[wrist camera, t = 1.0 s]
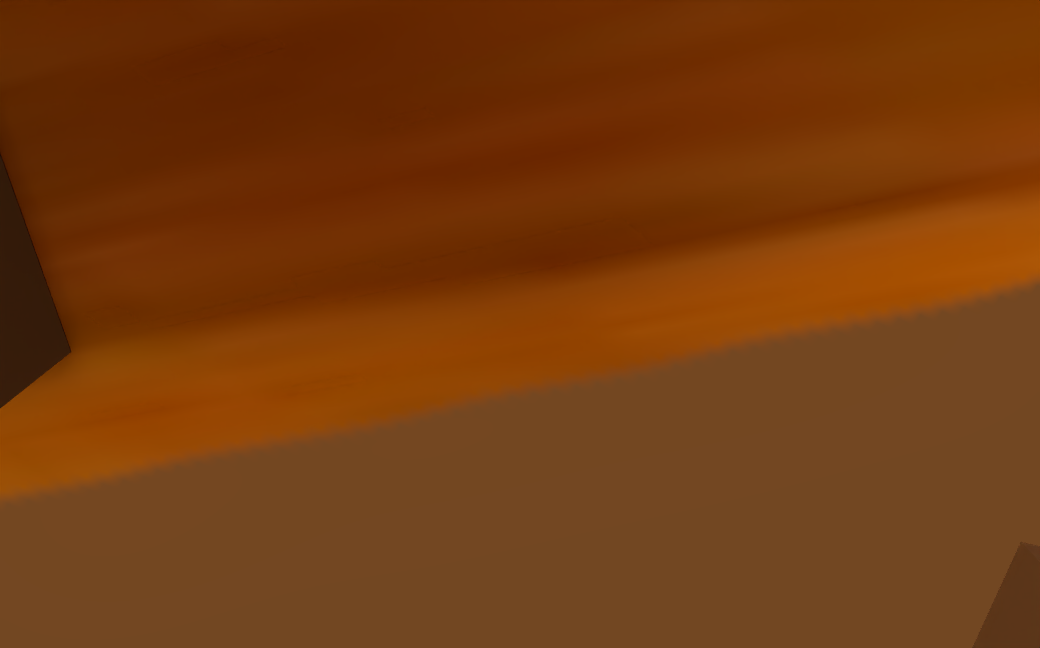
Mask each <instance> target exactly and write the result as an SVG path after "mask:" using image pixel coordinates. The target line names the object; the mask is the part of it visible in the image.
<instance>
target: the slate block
mask: <svg viewBox="0 0 1040 648" xmlns="http://www.w3.org/2000/svg"><path fill="white" fill-rule="evenodd" d="M70 352H71V351H70V348H69V345H68V342H67V339H66V337H65V334H64V331H63V328H62V326H61V323H60V320H59V317H58V314H57V312H56V309H55V306H54V303H53V300H52V298H51V295H50V292H49V289H48V286H47V284H46V281H45V278H44V275H43V272H42V270H41V267H40V264H39V261H38V259H37V256H36V253H35V250H34V247H33V245H32V242H31V239H30V236H29V233H28V231H27V228H26V225H25V222H24V219H23V217H22V214H21V211H20V208H19V205H18V203H17V200H16V197H15V194H14V191H13V189H12V186H11V183H10V180H9V178H8V175H7V172H6V169H5V166H4V164H3V161H2V158H1V155H0V408H1V407H3V406H4V405H5V404H6V403H8V402H9V401H10V400H11V399H13V398H14V397H15V396H16V395H18V394H19V393H20V392H21V391H23V390H24V389H25V388H26V387H28V386H29V385H30V384H31V383H33V382H34V381H35V380H36V379H38V378H39V377H40V376H41V375H43V374H44V373H45V372H46V371H48V370H49V369H50V368H51V367H53V366H54V365H55V364H56V363H58V362H59V361H60V360H62V359H63V358H64V357H65V356H67V355H68V354H69V353H70Z"/></svg>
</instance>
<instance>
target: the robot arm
mask: <svg viewBox="0 0 1040 648" xmlns="http://www.w3.org/2000/svg"><path fill="white" fill-rule="evenodd" d="M973 648H1040V546H1037V545H1032V544H1027V543H1023V542H1021V543H1020V545H1019V547H1018V549H1017V552H1016V554H1015V556H1014V558H1013V561H1012V563H1011V565H1010V567H1009V569H1008V571H1007V573H1006V576H1005V578H1004V580H1003V582H1002V584H1001V587H1000V589H999V591H998V593H997V595H996V598H995V600H994V602H993V604H992V606H991V608H990V611H989V613H988V615H987V617H986V619H985V621H984V624H983V626H982V628H981V630H980V632H979V635H978V637H977V639H976V641H975V643H974V645H973Z"/></svg>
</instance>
